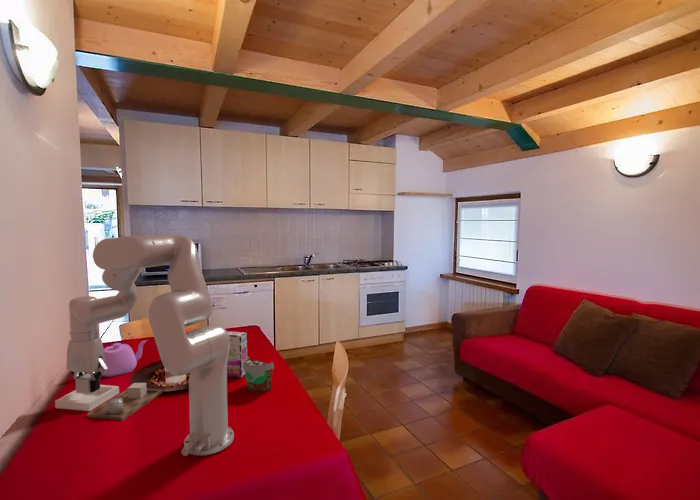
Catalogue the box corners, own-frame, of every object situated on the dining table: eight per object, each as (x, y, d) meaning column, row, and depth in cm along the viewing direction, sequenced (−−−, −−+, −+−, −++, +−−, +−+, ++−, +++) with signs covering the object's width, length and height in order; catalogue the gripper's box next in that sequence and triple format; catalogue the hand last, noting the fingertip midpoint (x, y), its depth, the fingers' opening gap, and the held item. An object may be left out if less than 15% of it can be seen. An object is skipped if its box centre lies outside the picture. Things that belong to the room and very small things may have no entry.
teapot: (151, 370, 146) (150, 342, 145) (89, 383, 134) (88, 353, 133) (145, 360, 156) (144, 334, 155) (87, 371, 144) (86, 344, 143)
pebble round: (110, 417, 109) (109, 405, 109) (104, 413, 112) (103, 401, 112) (125, 411, 113) (125, 400, 113) (119, 408, 115) (119, 396, 115)
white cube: (140, 398, 121) (140, 387, 121) (127, 398, 121) (127, 388, 121) (146, 393, 125) (146, 382, 125) (134, 393, 125) (133, 382, 125)
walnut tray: (123, 422, 108) (123, 417, 108) (87, 418, 110) (86, 414, 110) (162, 393, 126) (162, 389, 126) (131, 391, 128) (130, 387, 128)
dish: (89, 413, 113) (89, 403, 113) (55, 409, 115) (55, 400, 115) (119, 394, 125) (118, 386, 125) (87, 392, 127) (87, 383, 126)
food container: (235, 389, 130) (235, 361, 129) (248, 382, 135) (247, 356, 134) (262, 397, 124) (262, 368, 123) (274, 390, 130) (274, 362, 129)
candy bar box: (248, 373, 144) (247, 332, 142) (241, 378, 139) (240, 336, 137) (222, 370, 146) (222, 329, 145) (215, 375, 141) (214, 333, 140)
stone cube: (88, 393, 117) (87, 380, 117) (76, 392, 118) (75, 379, 117) (100, 387, 122) (99, 374, 121) (88, 386, 122) (87, 373, 122)
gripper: (51, 337, 116) (54, 393, 117) (99, 340, 113) (102, 397, 115) (72, 330, 123) (75, 383, 124) (117, 333, 121) (120, 386, 122)
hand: (88, 389), depth 120 cm, fingers closed on stone cube, 4 cm apart
